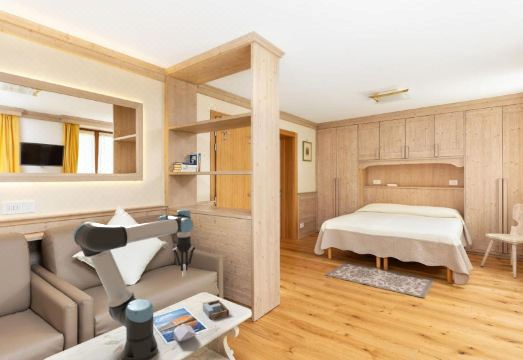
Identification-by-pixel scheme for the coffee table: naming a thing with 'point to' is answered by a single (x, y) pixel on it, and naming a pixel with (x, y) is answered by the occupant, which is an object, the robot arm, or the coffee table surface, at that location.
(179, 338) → the pale lavender faceted block
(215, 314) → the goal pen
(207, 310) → the t block
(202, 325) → the coffee table surface
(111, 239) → the robot arm
